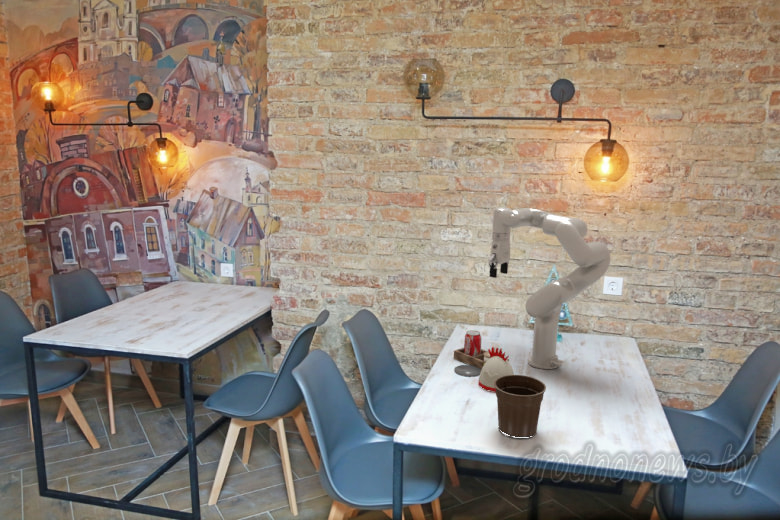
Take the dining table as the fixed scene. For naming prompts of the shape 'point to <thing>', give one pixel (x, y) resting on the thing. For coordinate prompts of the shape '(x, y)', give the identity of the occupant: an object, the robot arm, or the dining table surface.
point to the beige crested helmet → (494, 369)
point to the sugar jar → (486, 356)
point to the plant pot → (519, 404)
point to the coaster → (467, 370)
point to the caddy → (471, 358)
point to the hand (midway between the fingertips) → (498, 275)
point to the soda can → (472, 343)
